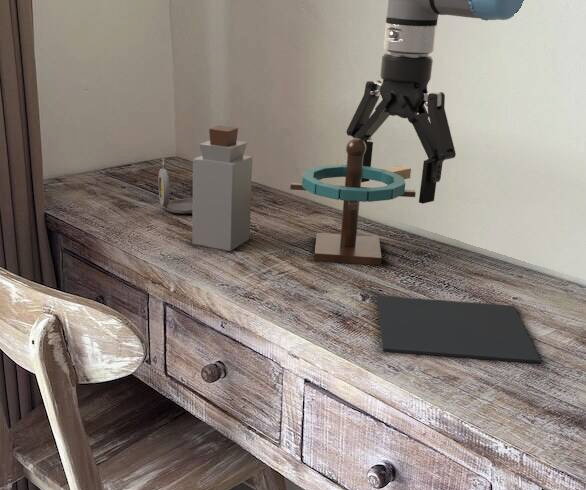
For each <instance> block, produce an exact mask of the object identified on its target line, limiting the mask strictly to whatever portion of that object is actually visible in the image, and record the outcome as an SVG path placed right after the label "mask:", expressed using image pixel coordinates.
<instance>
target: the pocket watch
mask: <svg viewBox="0 0 586 490" xmlns="http://www.w3.org/2000/svg"><path fill="white" fill-rule="evenodd" d="M160 157H161V160H162V163H161V164H162V168H160V169H159V171H158V182H157V183H158V197H159V202H160V206H161V207H163V208H165V210H167V212H170V213H175V214H181V215H189V214H192V208H193V199H173V200H170V197H171V195H170V194H171V187H170V186H171V185H170V176H169V172H168V170H167V162H166V159H165V158H164V155H163V154H161V155H160Z"/></svg>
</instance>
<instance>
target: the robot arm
mask: <svg viewBox="0 0 586 490" xmlns="http://www.w3.org/2000/svg"><path fill="white" fill-rule="evenodd" d="M523 1H524V0H387V10H386V18H385V27H384V37H383V46H382V47H383V48H382V49H383V50H384V51H385V52H386V53H384V54H383V55H382V56H381V63H380V74H379V75H380V78H381V79H382V81H381V80H379V79H378V80H367V81H366V82H365V86H364V92H363V96H362V98H361V100H360V102H359V104H358V105H357V108H356V110H355V113H354V114H353V116H352V118H351V119H350V123H349V125H348V126H347V129H346V135H347V136H348V137H352V139H353V138H359V139H362V140H363V141H364V142H365V144H366V152H365V154H364V156H363V166H365V167H366V166H368V167H372V159H373V158H372V157H373V150H374V149H373V147H374V142H373V141H372V136H374V134H375V133H376V132H377V131H378V129H379V128H381V126H382V125H383V124H384V122H385V121H387V119H388V118H389V117H390V116H392V117H394V116H395V117H396V116H397V117H399V118H401V119H407V121H408V122H409V123H410V124H411V125H412V126H413V129H414V131H415V133H416V135H417V137H418V139H419V141H420V144H421V145H422V148H423V150H424V152H425V154H426V157H427V159H425V160H423V162H422V163H423V164H422V172H421V181H420V189H419V197H418V203H419V204H427V203H431V202H435V196H436V189H437V188H436V187H437V183H439V182H440V181H441V177H442V171H443V163H444V161H447V160H451V159H455V158H456V155H457V153H456V148H455V145H454V141H453V137H452V132H451V129H450V125H449V120H448V117H447V113H446V109H445V108H446V107H445V106H446V105H445V100H446V99H445V98H446V96H445V93H444V92H443V91H440V92H429V91H428V84H429V83H430V81H431V78H432V71H433V64H434V63H433V61H434V60H433V57H432V56H430V55H431V54H433V53H434V52H435V48H436V38H437V30H438V29H437V28H438V20H439V16H452V17H453V16H454V17H461V18H463V17H464V18H469V19H471V18H472V19H480V20H482V21H507V20H510V19H512V18H513V17H515V16H514V14H515V13H517V12H518V11H519V9H520V8H521V6H522V3H523ZM380 97H381V101H380V102H379V103H378V101H379V99H380ZM377 104H378V105H377ZM426 107H427V108H426ZM374 110H375V111H374ZM373 111H374V112H373ZM370 181H371V180H370V179H365V178H362V179H361V183H365V182H370Z"/></svg>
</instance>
